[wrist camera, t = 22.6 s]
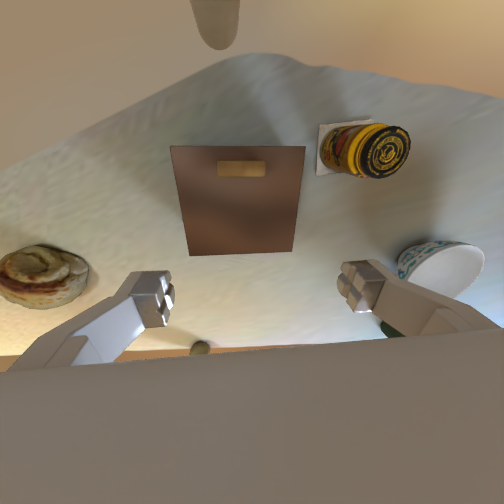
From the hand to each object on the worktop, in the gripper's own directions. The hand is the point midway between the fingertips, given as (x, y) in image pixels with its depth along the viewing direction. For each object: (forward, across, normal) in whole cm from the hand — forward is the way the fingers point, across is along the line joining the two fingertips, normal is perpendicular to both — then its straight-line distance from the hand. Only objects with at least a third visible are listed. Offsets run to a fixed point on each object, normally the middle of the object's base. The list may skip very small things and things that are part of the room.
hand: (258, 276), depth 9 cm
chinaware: (+27, -39, +18) cm, 51 cm away
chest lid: (+19, 0, +2) cm, 19 cm away
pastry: (+27, +36, +17) cm, 48 cm away
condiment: (+27, -17, -4) cm, 32 cm away
